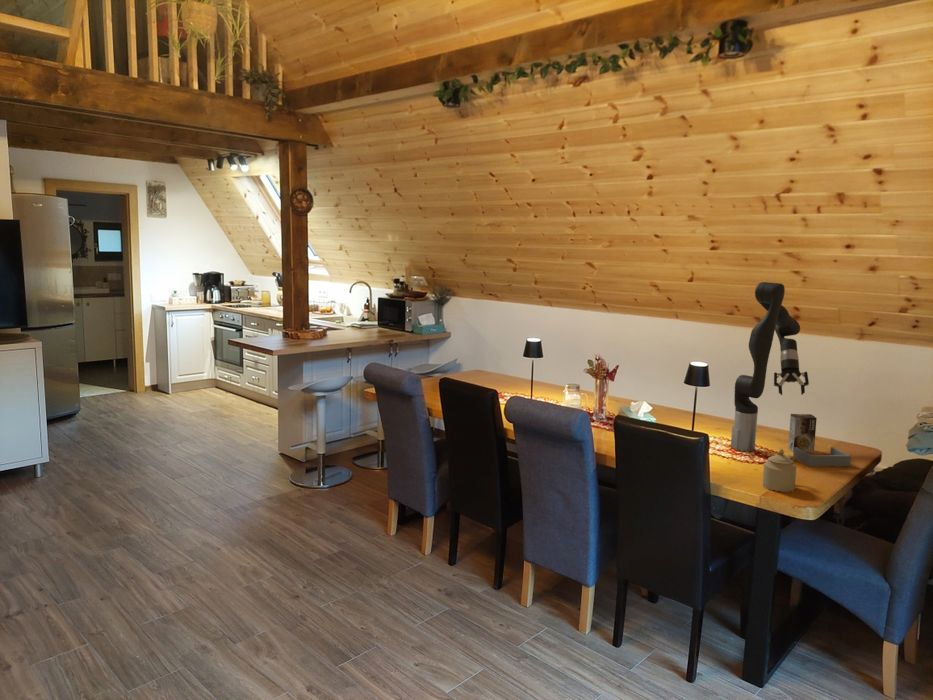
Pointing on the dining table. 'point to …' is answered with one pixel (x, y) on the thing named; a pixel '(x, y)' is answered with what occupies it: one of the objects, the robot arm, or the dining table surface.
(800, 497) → the dining table surface
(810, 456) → the box
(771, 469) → the sugar bowl
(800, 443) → the coffee box
